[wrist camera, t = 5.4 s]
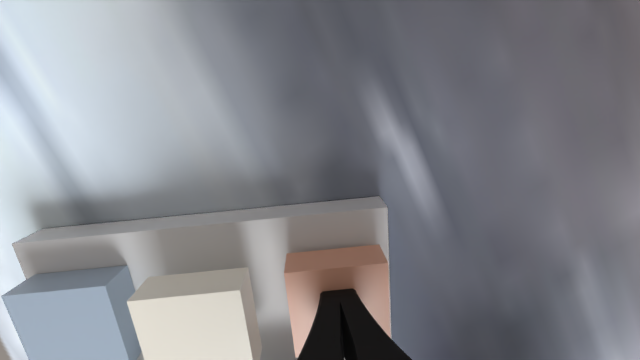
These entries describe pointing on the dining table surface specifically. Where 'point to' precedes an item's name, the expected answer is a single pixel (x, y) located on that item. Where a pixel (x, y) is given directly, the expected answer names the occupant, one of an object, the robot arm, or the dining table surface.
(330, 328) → the robot arm
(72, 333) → the slate blue key
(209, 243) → the light grey tray
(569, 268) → the dining table surface
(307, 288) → the terracotta key
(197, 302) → the cream key
